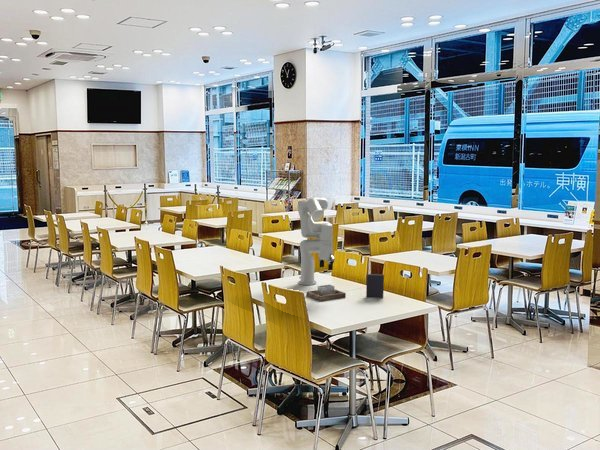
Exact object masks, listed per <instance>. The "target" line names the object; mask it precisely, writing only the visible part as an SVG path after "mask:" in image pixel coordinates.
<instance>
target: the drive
mask: <svg viewBox="0 0 600 450" xmlns="http://www.w3.org/2000/svg"><path fill="white" fill-rule="evenodd" d="M316 287H317V289H316V290H317V291H318V295H319V292H321V296H325V295H332V294H334V289H335V285H333V284H325V285H317V286H316Z"/></svg>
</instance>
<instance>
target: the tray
mask: <svg viewBox="0 0 600 450" xmlns="http://www.w3.org/2000/svg"><path fill="white" fill-rule="evenodd" d="M305 295H306V298H307V297H308V298H310V299H313V300H316V301H318V302H324V301H325V302H326V301H330V300H338V299H345V298H346V296H347V294H346V292H344V291H341V290H339V289H335V288H334V294H332V295H325V296H321V292H319V295H318V291H317V289H315V290H310V291H309V290H308V291H306V294H305Z"/></svg>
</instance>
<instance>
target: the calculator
mask: <svg viewBox="0 0 600 450" xmlns="http://www.w3.org/2000/svg"><path fill="white" fill-rule="evenodd" d="M384 282H385V275H384V274H380V273H379V274H378V273H367V274H366V286H365V287H366V291H365V292H366V294H365V296H366V298H373V299H375V298H377V299H379V298H380V299H383V298H384V287H385V286H384V285H385V283H384Z"/></svg>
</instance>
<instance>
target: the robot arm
mask: <svg viewBox="0 0 600 450" xmlns="http://www.w3.org/2000/svg"><path fill="white" fill-rule="evenodd" d="M328 205H329V203H328V200H327V198H325V197H310V198H309V199H302V200H299V201H298V203H297V212H298V216H299V218H300V219H299V220H300V232H301V233H300V234H301V237H303V238H305V239H304V240H302V241H300V242H299V248H300V249H299V251H300V276H299V279H300V280H299V281H298V284H299V285H302V286H311V285H312V286H314V285H316V284H317V281H316V280H315V257H314V256H313V255H312V254H316V253H317V255H318V262H319V268H324V267H325V262H327V263H328V264H327V265H328V266H327V269H328V271H333V268H334V263H335V259H336V258H335V257H334V248H333V229H334V228H333V226H334V225H333V224H332V223H330V222H329V221H318V220H320V219H321V218H322V217H323V216H324V211H326V210H327V209H328V207H329V206H328ZM307 238H308V239H307ZM311 238H312V239H311ZM313 238H316V239H313Z"/></svg>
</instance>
